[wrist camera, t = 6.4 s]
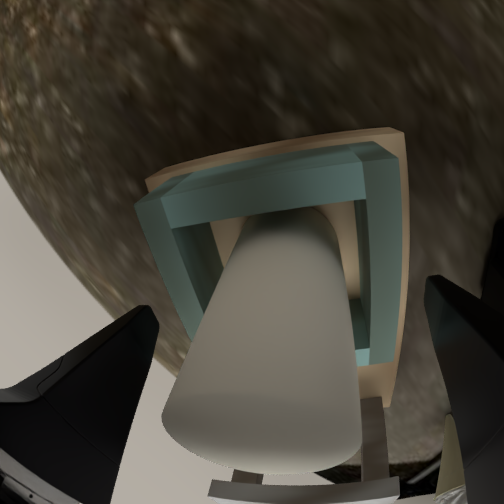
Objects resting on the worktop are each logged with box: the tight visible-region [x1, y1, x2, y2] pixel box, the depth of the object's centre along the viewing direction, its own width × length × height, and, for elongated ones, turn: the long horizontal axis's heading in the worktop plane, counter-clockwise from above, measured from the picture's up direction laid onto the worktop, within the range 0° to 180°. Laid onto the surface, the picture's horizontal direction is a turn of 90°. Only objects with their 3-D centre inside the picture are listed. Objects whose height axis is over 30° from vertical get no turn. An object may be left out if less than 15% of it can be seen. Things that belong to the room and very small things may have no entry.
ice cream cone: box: [433, 414, 467, 504], centre depth 13 cm, size 5×5×15 cm
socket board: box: [134, 127, 410, 504], centre depth 11 cm, size 10×16×10 cm, turn 13°
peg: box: [162, 206, 362, 475], centre depth 8 cm, size 4×4×8 cm
